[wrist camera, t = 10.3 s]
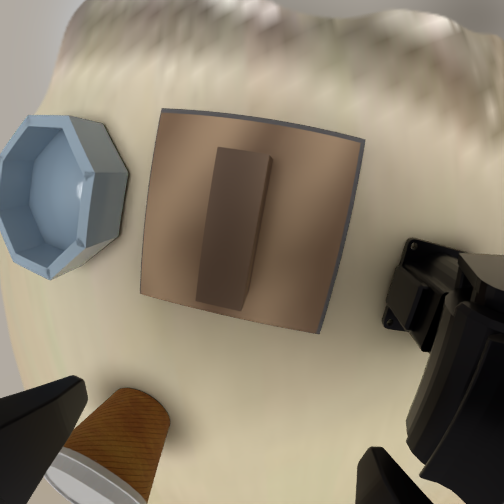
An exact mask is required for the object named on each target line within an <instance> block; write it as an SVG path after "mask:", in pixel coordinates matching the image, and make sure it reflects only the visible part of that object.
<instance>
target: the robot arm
mask: <svg viewBox="0 0 504 504" xmlns="http://www.w3.org/2000/svg"><path fill="white" fill-rule="evenodd" d="M412 243H415V247H414V248H413V249H411V244H412ZM386 303H387V307H386V310H385V313H384V315H383V318H382V324H383V326H384V327H385V328H387V329H392V330H399V331H406V332H409V333H410V334H411V336H412V337H413V339H414V340H415V342H416V343H417V345H418V346H419V348H420V349H421V351H423V352H429V354H430V356H429V359H428V362H427V365H426V368H425V371H424V374H423V376H422V379H421V382H420V385H419V387H418V390H417V393H416V395H415V398H414V400H413V403H412V405H411V408H410V410H409V413H408V416H407V419H406V427H407V435H408V438H407V440H406V443H407V445H408V446H409V448H410V450H411V452H412V453H413V454H414V455H415V456H416V457H417V458H418V459H419V460H420V461H421V462H422V463H423V464H425V466H424V468H423V469H422V471H421V472H420V474H419V476H420V477H421V478H423V479H426V480H430V481H433V482H437V483H439V484H441V485H443V486H444V487H446V488H448V489H450V490H452V491H453V492H454V493H455V494H456V495H458V496H459V497H460V498H461V499H462V500H463V501H464V502H465V503H466V504H504V255H490V254H472V253H467V252H464V251H460V250H457V249H453V248H449V247H446V246H442V245H439V244H435V243H431V242H428V241H424V240H420V239H416V238H410V239H408V240H407V242H406V244H405V248H404V252H403V255H402V259H401V262H400V265H399V266H398V267H397V268H396V270H395V273H394V277H393V280H392V283H391V286H390V289H389V293H388V296H387V299H386ZM389 319H392V320H391V322H390V323H387V321H388V320H389ZM87 401H88V395H87V391H86V386H85V382H84V380H83V379H81V378H79V377H77V376H75V375H71V376H68V377H65V378H62V379H59V380H56V381H53V382H50V383H47V384H44V385H41V386H38V387H35V388H32V389H29V390H26V391H23V392H20V393H16V394H13V395H10V396H6V397H3V398H0V504H27V502H28V501H29V499H30V497H31V496H32V494H33V492H34V491H35V489H36V488H37V486H38V484H39V483H40V481H41V480H42V478H43V477H44V475H45V473H46V472H47V470H48V469H49V467H50V466H51V464H52V463H53V461H54V460H55V458H56V456H57V455H58V453H59V452H60V450H61V449H62V447H63V446H64V444H65V443H66V441H67V440H68V438H69V437H70V435H71V433H72V431H73V429H74V427H75V425H76V423H77V421H78V419H79V417H80V415H81V413H82V412H83V410H84V408H85V406H86V404H87ZM355 504H433V503H432V502H431V500H430V499H429V498H428V497H427V496H426V495H425V494H424V493H423V492H422V491H421V490H420V488H419V487H418V486H417V485H416V484H415V483H414V482H413V481H412V480H411V478H410V477H409V476H408V475H407V474H406V473H405V472H404V471H403V470H402V468H401V467H400V466H399V465H398V464H397V463H396V462H395V461H394V459H393V458H392V457H391V456H390V455H389V454H388V453H387V451H386V450H385V449H384V448H383V447H370V448H368V449H367V451H366V452H365V454H364V455H363V457H362V458H361V459H360V461H359V463H358V466H357V485H356V500H355Z"/></svg>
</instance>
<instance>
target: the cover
mask: <svg viewBox="0 0 504 504" xmlns="http://www.w3.org/2000/svg"><path fill="white" fill-rule="evenodd" d="M360 144H361V143H359V142H355V141H351V140H347V139H343V138H339V137H335V136H330V135H326V134H321V133H317V132H312V131H307V130H302V129H297V128H291V127H286V126H280V125H274V124H268V123H262V122H255V121H248V120H240V119H232V118H224V117H215V116H204V115H192V114H178V113H161V117H160V122H159V128H158V133H157V139H156V145H155V151H154V157H153V164H152V170H151V177H150V185H149V193H148V201H147V210H146V220H145V230H144V242H143V256H142V273H141V294H143V295H147V296H150V297H154V298H158V299H161V300H165V301H169V302H173V303H177V304H181V305H185V306H189V307H193V308H197V309H201V310H205V311H209V312H213V313H218V314H222V315H226V316H231V317H235V318H240V319H244V320H249V321H254V322H259V323H263V324H268V325H273V326H278V327H283V328H289V329H294V330H299V331H305V332H310V333H316V332H317V329H318V325H319V322H320V319H321V315H322V312H323V308H324V305H325V301H326V298H327V294H328V291H329V287H330V283H331V279H332V276H333V272H334V268H335V264H336V260H337V256H338V252H339V248H340V244H341V239H342V235H343V231H344V226H345V222H346V217H347V213H348V208H349V203H350V198H351V194H352V188H353V183H354V178H355V173H356V167H357V162H358V156H359V150H360Z"/></svg>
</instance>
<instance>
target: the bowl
mask: <svg viewBox="0 0 504 504" xmlns="http://www.w3.org/2000/svg"><path fill="white" fill-rule="evenodd" d="M127 178H128V171H127V169H126V167H125V166H124V164H123V162H122V160H121V158H120V156H119V154H118V152H117V150H116V149H115V147H114V145H113V143H112V141H111V139H110V137H109V135H108V133H107V131H106V129H105V127H104V125H103V123H99V122H95V121H90V120H86V119H82V118H77V117H73V116H61V115H28V116H27V117H26V119H25V120H24V121H23V122H22V124H21V125H20V126H19V128H18V129H17V131H16V132H15V133H14V135H13V136H12V138H11V139H10V140H9V142H8V143H7V145H6V146H5V148H4V149H3V151H2V152H1V154H0V231H1V234H2V236H3V239H4V241H5V244H6V246H7V248H8V251H9V253H10V255H11V258H12V260H13V262H15V263H17V264H18V265H20V266H22V267H24V268H26V269H28V270H30V271H32V272H34V273H36V274H38V275H40V276H42V277H44V278H46V279H48V280H52V279H54V278H56V277H58V276H61V275H63V274H65V273H67V272H69V271H71V270H73V269H76V268H78V267H80V266H82V265H83V264H84V263H86V262H87V261H88V260H89V259H90V258H92V257H93V256H94V255H95V254H97V253H98V252H99V251H100V250H102V249H103V248H104V247H105V246H107V245H108V244H109V243H110V242H112V241H113V240H114V239H115V238H117V237H118V235H119V227H120V220H121V214H122V210H123V205H124V196H125V189H126V184H127Z"/></svg>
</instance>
